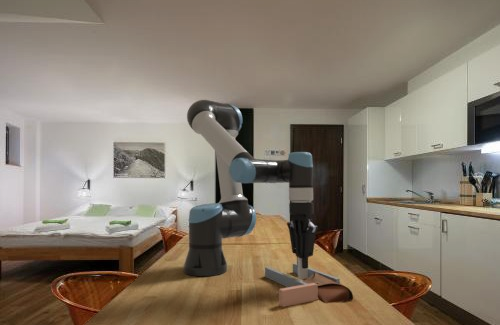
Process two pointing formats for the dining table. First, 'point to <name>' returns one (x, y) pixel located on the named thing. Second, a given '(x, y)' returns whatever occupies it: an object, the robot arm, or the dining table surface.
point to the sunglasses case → (329, 289)
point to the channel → (291, 281)
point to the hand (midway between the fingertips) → (302, 278)
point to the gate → (298, 294)
